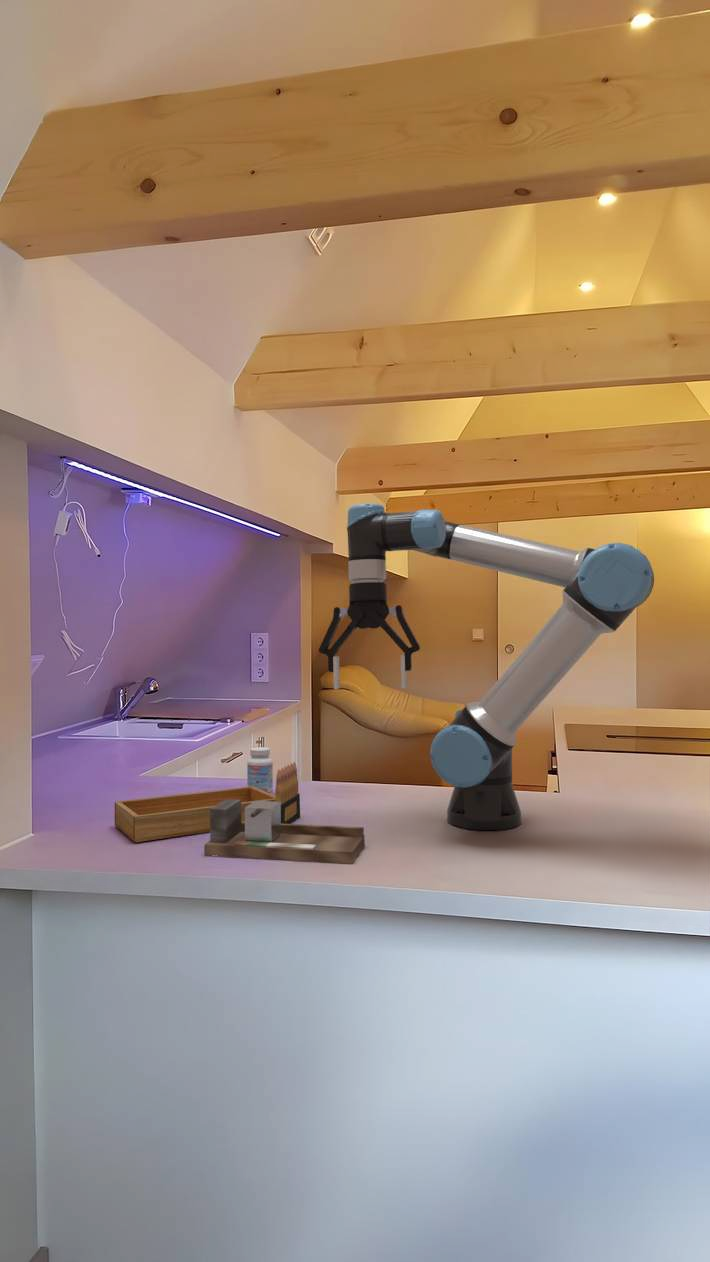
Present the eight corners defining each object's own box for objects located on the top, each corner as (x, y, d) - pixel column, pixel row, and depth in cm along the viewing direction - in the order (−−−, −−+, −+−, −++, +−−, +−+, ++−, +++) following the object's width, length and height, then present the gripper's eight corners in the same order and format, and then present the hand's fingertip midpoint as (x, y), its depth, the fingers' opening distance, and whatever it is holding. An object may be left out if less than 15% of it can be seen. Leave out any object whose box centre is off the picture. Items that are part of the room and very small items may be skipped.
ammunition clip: (282, 830, 156) (281, 770, 156) (273, 829, 156) (273, 769, 156) (300, 817, 166) (299, 761, 166) (292, 816, 167) (291, 760, 166)
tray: (252, 809, 175) (252, 783, 175) (281, 823, 162) (281, 796, 162) (114, 828, 159) (114, 801, 159) (134, 846, 146) (134, 816, 146)
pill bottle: (244, 797, 185) (243, 750, 185) (251, 792, 191) (251, 746, 191) (268, 798, 184) (268, 750, 184) (275, 792, 190) (275, 746, 190)
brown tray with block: (364, 845, 144) (364, 802, 144) (352, 863, 133) (351, 817, 133) (227, 838, 150) (226, 797, 149) (204, 855, 139) (204, 810, 139)
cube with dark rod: (280, 833, 144) (280, 801, 144) (266, 847, 136) (265, 812, 136) (255, 832, 146) (254, 800, 145) (239, 845, 137) (238, 811, 137)
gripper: (431, 581, 158) (433, 685, 158) (310, 585, 161) (313, 687, 162) (428, 579, 150) (431, 688, 150) (302, 583, 154) (305, 690, 154)
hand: (370, 688), depth 156 cm, fingers open, 13 cm apart
